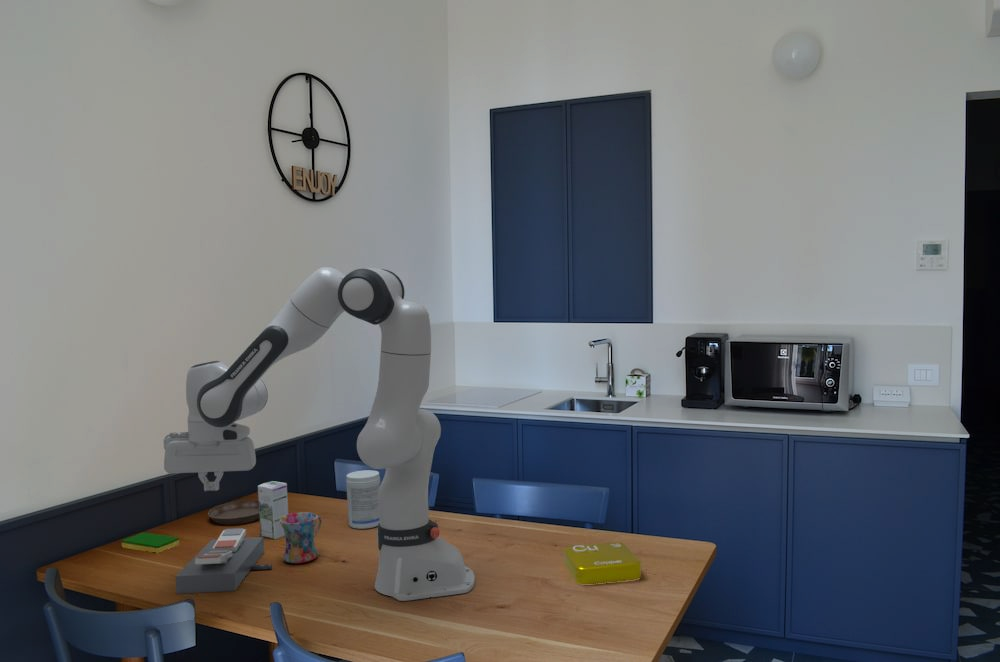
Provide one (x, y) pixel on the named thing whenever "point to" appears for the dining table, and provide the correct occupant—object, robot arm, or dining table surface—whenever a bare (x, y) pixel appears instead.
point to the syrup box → (272, 508)
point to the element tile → (601, 563)
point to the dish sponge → (150, 542)
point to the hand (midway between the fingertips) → (211, 490)
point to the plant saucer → (236, 512)
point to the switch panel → (221, 569)
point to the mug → (300, 536)
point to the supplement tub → (363, 498)
